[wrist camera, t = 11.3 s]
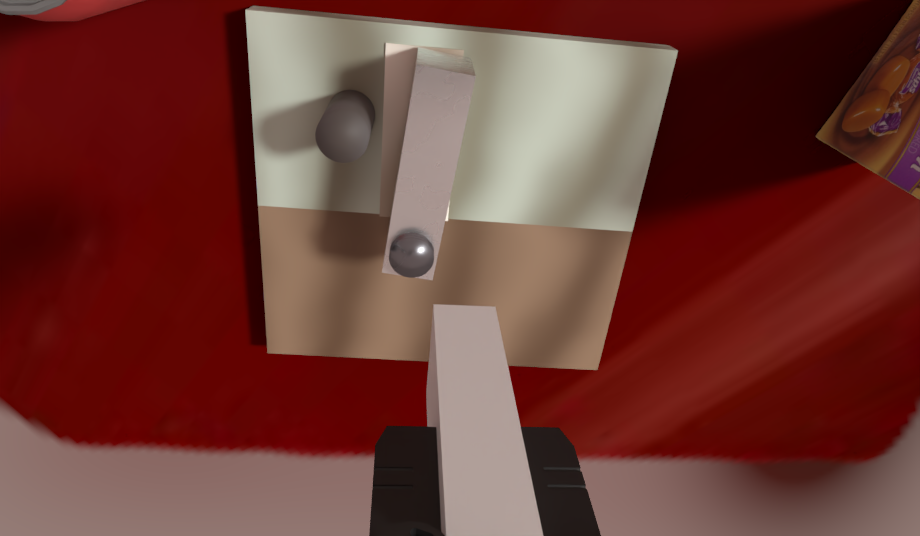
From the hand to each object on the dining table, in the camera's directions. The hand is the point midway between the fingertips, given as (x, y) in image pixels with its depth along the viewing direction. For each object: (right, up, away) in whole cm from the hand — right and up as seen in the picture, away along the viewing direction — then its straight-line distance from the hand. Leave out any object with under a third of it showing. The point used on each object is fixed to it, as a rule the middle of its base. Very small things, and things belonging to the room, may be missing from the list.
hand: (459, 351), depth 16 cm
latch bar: (-2, +8, +18) cm, 19 cm away
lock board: (-1, +6, +21) cm, 22 cm away
